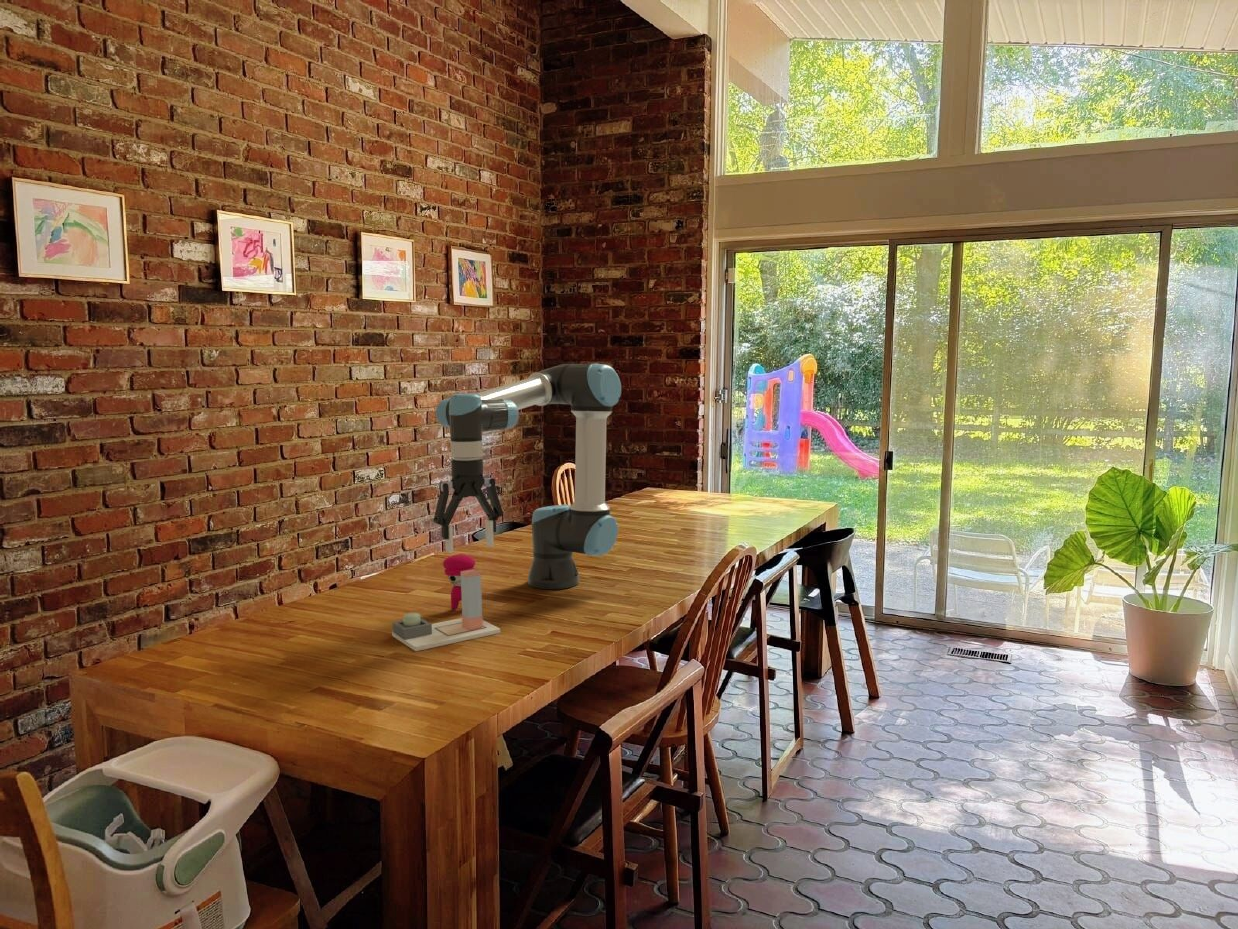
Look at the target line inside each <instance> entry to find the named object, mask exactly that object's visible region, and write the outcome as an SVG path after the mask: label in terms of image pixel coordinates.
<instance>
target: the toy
mask: <svg viewBox="0 0 1238 929" xmlns="http://www.w3.org/2000/svg"><path fill="white" fill-rule="evenodd" d="M475 565H476V560H475V558H473V557H472V556H470V555H467V554H462V553H461V554H453V555H450V556H448V557H446V558H445V559H444V560H443V562H442V566H443V567H444V574H445V575H446V576H447V580H448V581H449V583H450V584H451V585H453V587H452V588H451V591H450V608H451V610H457V609H458V608H459V603H460V602H462V593H461V572H460V571H466V570H472V569H475V568H474V567H475Z"/></svg>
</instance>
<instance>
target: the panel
mask: <svg viewBox="0 0 1238 929" xmlns="http://www.w3.org/2000/svg"><path fill="white" fill-rule="evenodd" d="M420 621H421V625H418V626H413V627H408V628H406V627H404V623H403V620H398V621H395V622H394V621H393V622H392V632H391V633H392V634H391V635H392V637H393V638H395V639H396V640H398V641H400V642H401V643H402V644H404V645H406V646H407V647H409V648H410V649H411V650H413V651H414V652H419V651H424V650H428V649H432V648H437V647H442V646H445V645H452V644H455V643H459V642H460V643H461V642H464V641H469V640H474V639H479V638H485V637H488V636H492V635H497V634H501V628H499V627H498V626H495V625H494V624H492V623H490V622H489V621H485V620H484V619H483V628H479V629H475V630H470V631H469V630H467V629H465V628H463V627H462V617H459V618H455V619H450V620H446V621H445V620H444V621H439V622H435V623H430V622H428V621H427V620H426V619H424V618H422V617H420Z"/></svg>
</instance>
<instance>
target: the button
mask: <svg viewBox="0 0 1238 929" xmlns="http://www.w3.org/2000/svg"><path fill="white" fill-rule="evenodd" d="M420 618H421V613H418V612H409V613H404V614H403V616H402V619H403V620H402V621H403V623H404V627H406V628H408V627H413V626H418V625H421V621H420Z"/></svg>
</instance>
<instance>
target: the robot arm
mask: <svg viewBox="0 0 1238 929" xmlns="http://www.w3.org/2000/svg"><path fill="white" fill-rule="evenodd" d="M621 395H622V383H621V380H620V377H619V375H618V373H617V372H616V370H615V369H614V368H613V367H612V366H610V365H609V364H601V363H564V364H560V365H556V366H552V367H549V368H545V369H542V370H540V371H536V372H533V373H531V374H530V375H529V376H528V377H527V378H524V379H522V380H519V381H514V382H511V383H508V384H504V385H500V386H498V387H494V388H491V389H488V390H484V391H480V392H476V393H470V392H469V393H454V394H451V396H450V397H449V398H444V399H442V400H440V401H439V402H438V404H437V406H436V409H435V417H436V421H437V422H438V423H439V425H440V426H442V427H445V428H449V434H450V436H449V438H450V456H451V457H452V460H450V463H451V465H450V466H451V480H450V482H449V481H448V482H442V481H441V482H440V483H439V485H438V486H439V495H438V499H437V503H436V508H435V512H434V515H433V521H432V522H433V523H434V524H437V525H440V527H441V538H442V539H443V540H444V541H445V545H444V547H445V552H446V553H449V554H453V553H454V536H453V534H454V532H453V530H454V529H453V525H451V522H452V520H453V518H454V515H455V513H456V511H457V510H458V508H459V505H460V503H461V501H463V499H464V498H465V499H466V498H469V497H474V498H476V500H477V502H478V503H479V505H480V507H481V508H482V510H483V512H484V513H485V514H486V516H487V518H486V519H484V526H485V529H484V530H485V531H484V532H485V546H487V547H490V548H494V545H495V544H494V542H495V541H494V534H495V533H497V521H499V518H500V517H503V515H504V512H503V508H502V505H501V502H500V500H499V499H500V498H499V496H498V493H497V492H498V491H497V489H496V479H495V478H492V477H486V478H484V460H483V459H482V457H483V453H484V451H483V433H484V432H493V431H505V430H508V429H509V430H510V429H512V428H514V427H515V426H516V425H517V423H518V421H519V410H522V409H526V408H529V407H533V406H534V405H535V406H539V407H544V406H547V405H559V404H560V405H570V412H571V413H572V414H573V415H574V416H575V421H576V422H575V462H574V463H575V465H574V466H575V468H574V471H575V472H574V477H575V478H574V488H575V489H574V502H573V503H572V504H571V505H570V504H557V505H550V506H549V505H548V506H543V507H539V508H536V509H535V510H534V511H533V512H532V522H531V529H532V530H531V531H532V532H531V533H532V554H533V555H532V556H533V557H532V561H531V565H530V568H529V572H528V575H527V584H528V586H529V587H531V588H535V589H540V590H562V589H568V588H572V587H575V586H576V585H578V584H579V582H580V576H579V575H580V574H579V572H578V571H579V570H578V569H577V568H578V567H577V566H576V563H575V560H574V558H573V553H575V554H581V555H586V556H597V557H601V556H604V555H606V554H608V553H609V552H610V551H611V550H612V549H613V547H614V546H615V544H616V542H617V538H618V533H619V525H618V522H617V520H616V518H615V517H614V516H612V515H611V507H610V506H609V505H608V504H607V503H606V470H607V469H606V468H607V467H606V464H607V463H606V462H607V459H606V458H607V457H606V455H607V419H608V417H609V416H610V415H611V414H612V413H613V406H615V405H617V404H618V402H619V399H621ZM483 486H485V487H486V492H487V494H488V498H489V501H490V503H489V501H488V500H487V498H486V497H485V496H486V495H485V493H484V491H483V490H482V489H483ZM451 488H452V489H453V490H454V491H453V493H452V495H451V499H450V501H449V504H448V506H447V503H448V499H449V494H450V491H451V490H452V489H451Z"/></svg>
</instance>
